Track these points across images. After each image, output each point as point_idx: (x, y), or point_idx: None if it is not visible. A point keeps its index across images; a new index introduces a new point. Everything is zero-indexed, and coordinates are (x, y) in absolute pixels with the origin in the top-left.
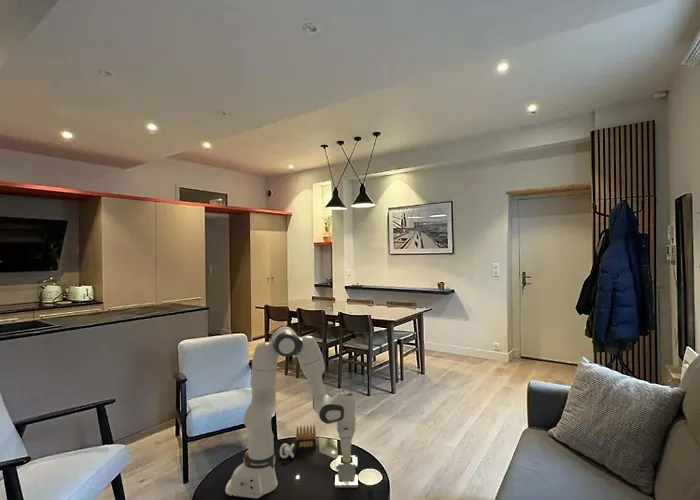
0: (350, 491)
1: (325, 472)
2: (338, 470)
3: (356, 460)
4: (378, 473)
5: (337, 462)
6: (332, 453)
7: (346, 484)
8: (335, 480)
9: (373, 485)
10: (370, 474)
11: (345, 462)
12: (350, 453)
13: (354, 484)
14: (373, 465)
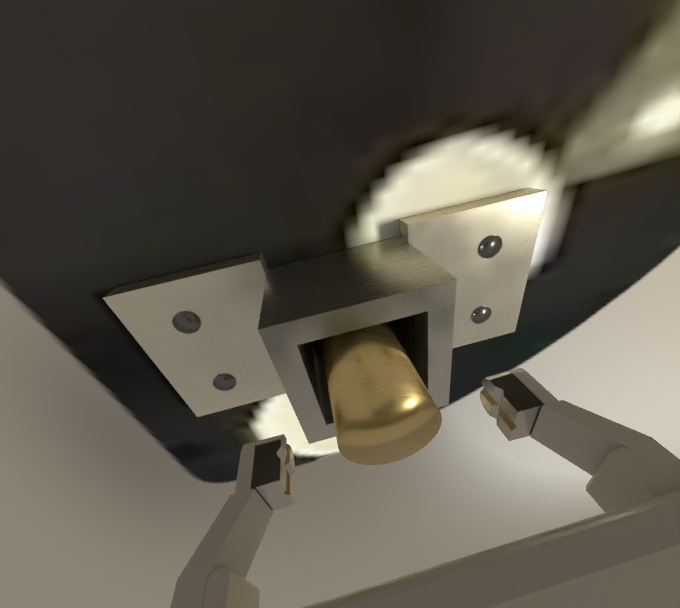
0: (140, 383)
1: (317, 126)
2: (264, 299)
3: (472, 339)
4: None
5: (458, 218)
6: (643, 110)
7: (163, 367)
8: (172, 282)
9: None
10: None
11: (326, 375)
12: (397, 457)
13: (192, 403)
14: None
